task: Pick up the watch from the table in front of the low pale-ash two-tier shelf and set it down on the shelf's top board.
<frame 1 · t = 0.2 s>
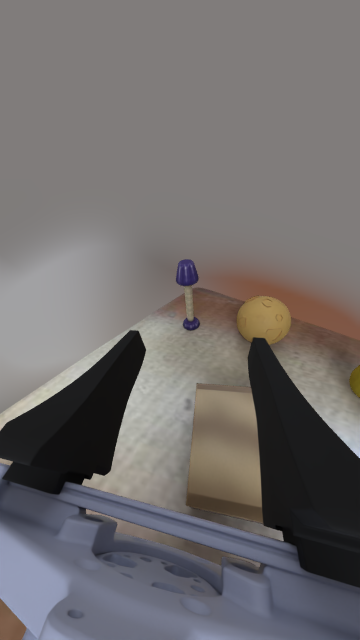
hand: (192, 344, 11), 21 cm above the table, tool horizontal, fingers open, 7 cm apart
stress ball: (258, 338, 38), on the table
shelf: (231, 447, 24), on the table
toy lamp: (192, 325, 44), on the table
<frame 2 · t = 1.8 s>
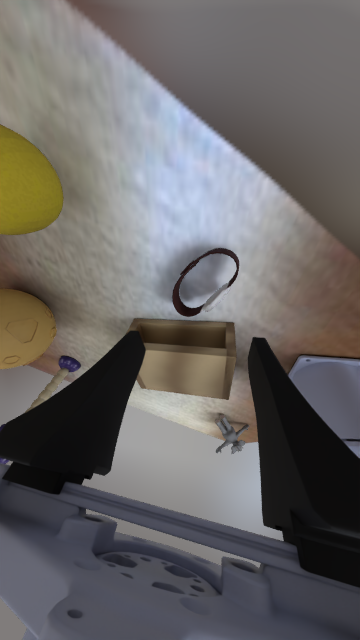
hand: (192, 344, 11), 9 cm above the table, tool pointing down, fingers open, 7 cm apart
stress ball: (39, 303, 25), on the table
shelf: (184, 345, 25), on the table
lemon: (52, 178, 14), on the table
gray toy figurine: (227, 420, 43), on the table
watch: (204, 276, 17), on the table
toy lamp: (71, 360, 36), on the table
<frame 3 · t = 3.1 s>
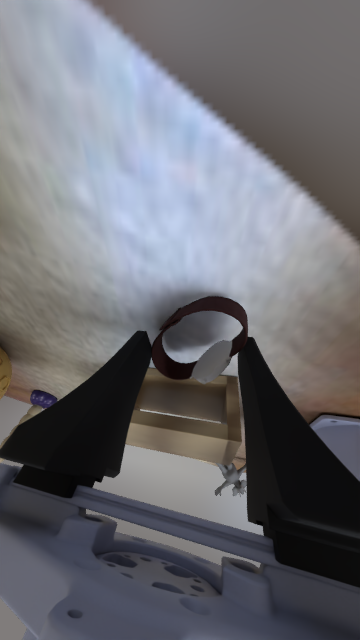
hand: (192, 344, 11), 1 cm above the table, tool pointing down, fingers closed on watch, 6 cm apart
shelf: (174, 392, 20), on the table
gray toy figurine: (227, 454, 38), on the table
watch: (195, 326, 12), on the table, touching gripper
toy lamp: (46, 393, 31), on the table
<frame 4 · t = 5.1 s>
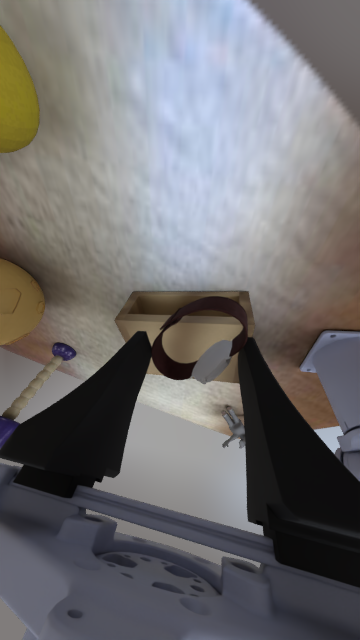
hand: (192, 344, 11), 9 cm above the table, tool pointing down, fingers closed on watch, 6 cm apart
stress ball: (26, 278, 22), on the table
shelf: (190, 323, 22), on the table
lemon: (27, 93, 11), on the table
gray toy figurine: (233, 412, 40), on the table
watch: (195, 326, 12), point 7 cm above the table, touching gripper
toy lamp: (65, 347, 33), on the table
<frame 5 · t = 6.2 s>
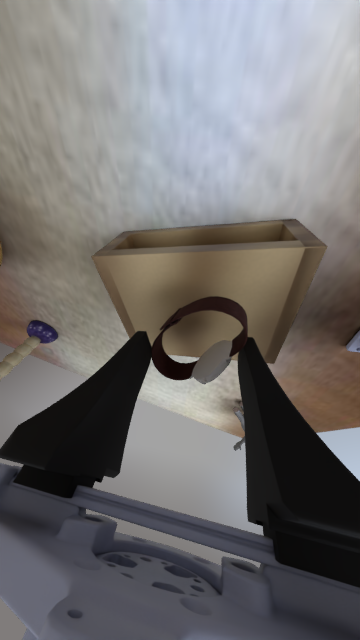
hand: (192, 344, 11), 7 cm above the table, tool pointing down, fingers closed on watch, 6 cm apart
shelf: (202, 283, 16), on the table
gray toy figurine: (246, 409, 34), on the table
watch: (195, 326, 12), point 6 cm above the table, touching gripper
toy lamp: (45, 327, 27), on the table
when the fingers open (6 cm above the table, at t = 7.1 s): watch stays where it is, resting on shelf.
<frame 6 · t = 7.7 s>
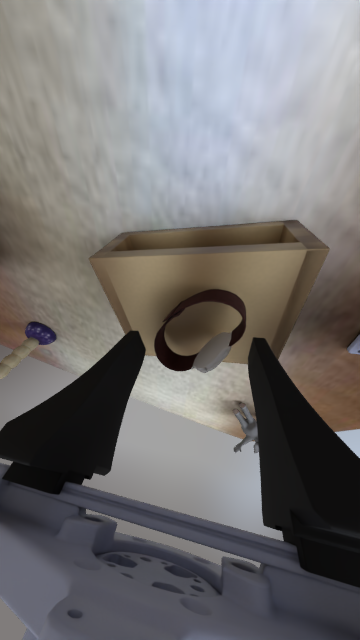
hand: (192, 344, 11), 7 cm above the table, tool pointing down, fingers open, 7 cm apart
shelf: (202, 284, 16), on the table
gray toy figurine: (246, 410, 34), on the table
watch: (196, 319, 13), point 5 cm above the table, touching shelf
toy lamp: (43, 329, 27), on the table
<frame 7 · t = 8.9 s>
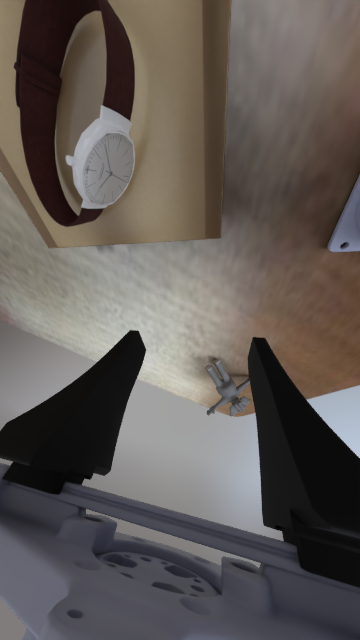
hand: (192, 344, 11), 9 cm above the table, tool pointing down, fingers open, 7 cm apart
shelf: (130, 145, 12), on the table
gray toy figurine: (223, 371, 30), on the table
watch: (94, 141, 9), point 5 cm above the table, touching shelf
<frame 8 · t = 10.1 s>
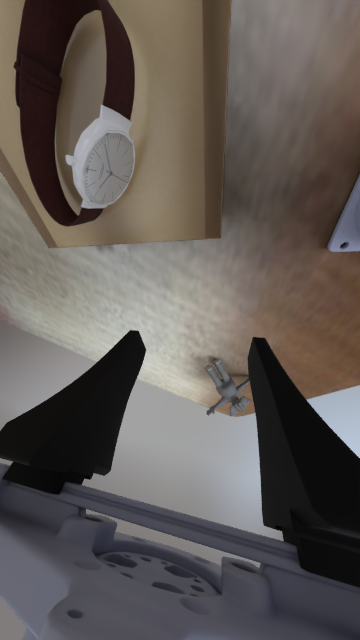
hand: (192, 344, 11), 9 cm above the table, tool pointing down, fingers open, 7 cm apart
shelf: (130, 145, 12), on the table
gray toy figurine: (223, 371, 30), on the table
watch: (94, 140, 9), point 5 cm above the table, touching shelf
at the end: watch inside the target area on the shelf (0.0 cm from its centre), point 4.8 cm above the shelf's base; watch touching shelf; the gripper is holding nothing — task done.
